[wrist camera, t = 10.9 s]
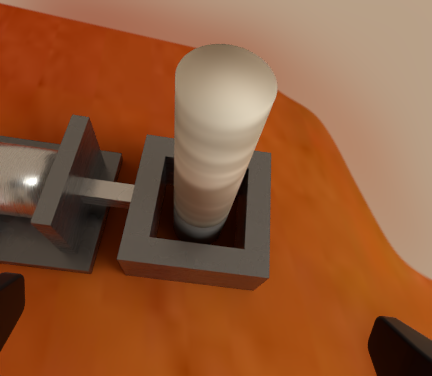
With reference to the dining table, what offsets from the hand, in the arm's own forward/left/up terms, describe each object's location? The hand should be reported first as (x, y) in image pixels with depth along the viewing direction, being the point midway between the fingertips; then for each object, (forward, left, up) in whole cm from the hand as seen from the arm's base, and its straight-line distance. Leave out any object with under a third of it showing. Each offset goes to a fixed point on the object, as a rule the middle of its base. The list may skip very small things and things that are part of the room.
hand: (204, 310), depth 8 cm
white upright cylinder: (+4, +7, -13) cm, 15 cm away
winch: (-2, +10, -13) cm, 17 cm away
